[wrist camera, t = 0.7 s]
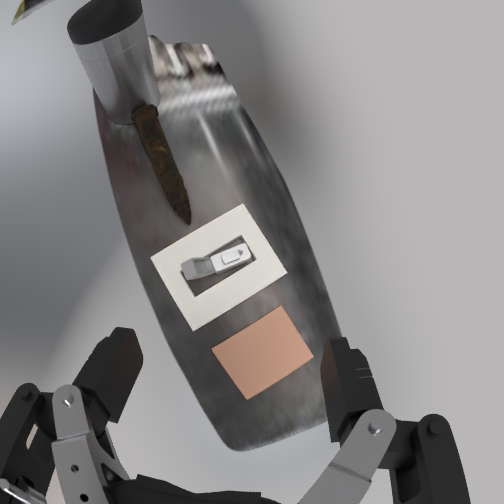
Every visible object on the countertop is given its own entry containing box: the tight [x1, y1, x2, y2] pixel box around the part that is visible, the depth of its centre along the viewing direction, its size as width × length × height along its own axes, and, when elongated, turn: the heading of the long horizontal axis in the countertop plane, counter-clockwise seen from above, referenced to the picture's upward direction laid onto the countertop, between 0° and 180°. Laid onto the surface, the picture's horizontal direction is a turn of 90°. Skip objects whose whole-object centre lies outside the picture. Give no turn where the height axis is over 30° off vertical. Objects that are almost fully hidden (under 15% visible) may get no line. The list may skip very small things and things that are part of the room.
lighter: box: [181, 243, 251, 280], centre depth 29 cm, size 7×2×8 cm, turn 114°
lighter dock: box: [151, 204, 287, 331], centre depth 32 cm, size 10×13×2 cm
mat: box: [211, 305, 314, 400], centre depth 32 cm, size 8×10×1 cm
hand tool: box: [131, 104, 191, 225], centre depth 32 cm, size 19×4×5 cm, turn 24°
